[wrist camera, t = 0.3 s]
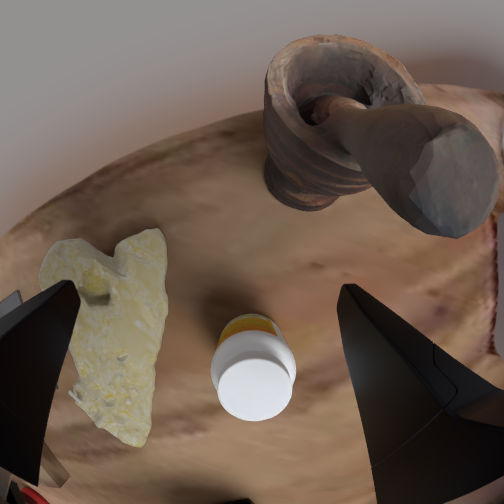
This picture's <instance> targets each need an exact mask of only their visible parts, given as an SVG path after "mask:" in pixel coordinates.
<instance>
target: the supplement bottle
mask: <svg viewBox="0 0 504 504" xmlns="http://www.w3.org/2000/svg"><path fill="white" fill-rule="evenodd" d="M295 376H296V364H295V359H294V356H293V354H292V352H291V350H290V348H289V346H288V344H287V342H286V340H285V338H284V336H283V334H282V333H281V331H280V329H279V328H278V326H277V325H276V324H275V323H274V322H273V321H272V320H271V319H269V318H267V317H265V316H262V315H259V314H244V315H241V316H238V317H236V318H234V319H233V320H231V321H230V322H229V323H228V324H227V325H226V326H225V328H224V329H223V331H222V333H221V336H220V339H219V342H218V345H217V347H216V350H215V353H214V356H213V359H212V363H211V378H212V382H213V384H214V387H215V388H216V390H217V393H218V397H219V400H220V402H221V404H222V406H223V407H224V408H225V409H226V410H227V411H228V412H229V413H230V414H232V415H233V416H235V417H237V418H240V419H243V420H247V421H261V420H266V419H269V418H271V417H273V416H275V415H277V414H278V413H280V412H281V411H282V410H283V409H284V408H285V407H286V406H287V404H288V402H289V400H290V398H291V394H292V385H293V383H294V380H295Z"/></svg>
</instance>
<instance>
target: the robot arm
mask: <svg viewBox="0 0 504 504" xmlns="http://www.w3.org/2000/svg"><path fill="white" fill-rule="evenodd" d="M80 305H81V299H80V296H79V294H78V291H77V289H76V286H75V284H74V282H73V281H72V280H61V281H59V282H58V283H56V284H54V285H52V286H51V287H49V288H47V289H46V290H44V291H42V292H41V293H39V294H37V295H36V296H34V297H32V298H31V299H29V300H28V301H26V302H24V303H23V304H21V305H20V306H18V307H16V308H15V309H13V310H12V311H10V312H9V313H7V314H6V315H4V316H3V317H1V318H0V504H26V503H25V501H24V499H23V497H22V494H21V492H20V490H19V487H18V485H17V483H15V482H14V481H13V480H11V478H12V474H13V475H15V476H17V477H19V478H21V479H23V480H25V481H27V482H29V483H31V484H33V485H35V486H37V487H38V484H39V474H40V465H41V457H42V450H43V444H44V437H45V432H46V427H47V422H48V417H49V413H50V409H51V404H52V400H53V396H54V393H55V389H56V385H57V382H58V378H59V375H60V372H61V368H62V365H63V362H64V359H65V356H66V353H67V350H68V347H69V344H70V341H71V337H72V334H73V330H74V326H75V323H76V319H77V316H78V312H79V309H80ZM337 314H338V320H339V326H340V332H341V338H342V344H343V350H344V354H345V358H346V362H347V366H348V369H349V373H350V377H351V380H352V384H353V388H354V392H355V396H356V400H357V404H358V408H359V412H360V417H361V421H362V425H363V430H364V434H365V439H366V444H367V448H368V453H369V458H370V463H371V469H372V475H373V480H374V486H375V492H376V498H377V504H504V390H502V389H499V388H497V387H495V386H494V385H492V384H491V383H489V382H488V381H486V380H485V379H483V378H482V377H480V376H479V375H477V374H476V373H475V372H473V371H472V370H470V369H469V368H467V367H466V366H464V365H463V364H461V363H460V362H459V361H457V360H456V359H454V358H453V357H452V356H450V355H449V354H448V353H446V352H445V351H444V350H443V349H441V348H440V347H439V346H437V345H436V344H435V343H434V344H433V342H432V341H431V340H430V339H428V338H427V337H426V336H425V335H423V334H422V333H421V332H419V331H418V330H417V329H416V328H414V327H413V326H412V325H410V324H409V323H408V322H406V321H405V320H404V319H402V318H401V317H400V316H399V315H397V314H396V313H395V312H393V311H392V310H391V309H389V308H388V307H387V306H385V305H384V304H382V303H381V302H380V301H378V300H377V299H376V298H374V297H373V296H372V295H370V294H369V293H368V292H366V291H365V290H363V289H362V288H361V287H359V286H358V285H357V284H343V285H342V287H341V290H340V295H339V298H338V302H337ZM226 504H254V503H253V502H252V501H251V500H249V499H245V500H241V501H236V502H231V503H226Z"/></svg>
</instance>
